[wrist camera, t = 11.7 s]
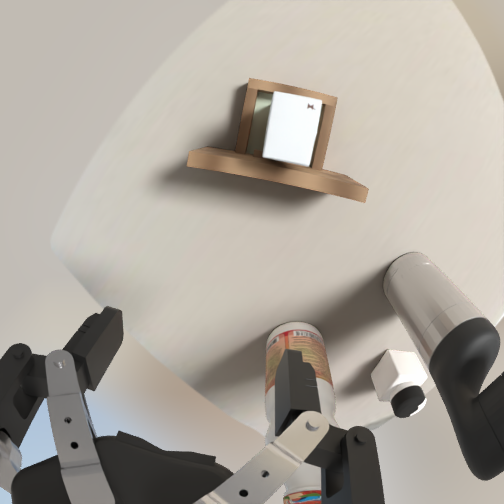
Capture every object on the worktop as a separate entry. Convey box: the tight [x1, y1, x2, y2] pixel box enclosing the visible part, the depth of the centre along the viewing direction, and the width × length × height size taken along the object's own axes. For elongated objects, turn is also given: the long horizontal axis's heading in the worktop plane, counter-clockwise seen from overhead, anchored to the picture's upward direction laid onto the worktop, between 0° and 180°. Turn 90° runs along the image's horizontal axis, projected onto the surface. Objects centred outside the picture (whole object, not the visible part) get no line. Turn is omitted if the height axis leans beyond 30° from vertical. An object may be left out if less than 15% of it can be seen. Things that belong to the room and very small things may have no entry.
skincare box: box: [262, 91, 322, 167], centre depth 27 cm, size 6×4×12 cm
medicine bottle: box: [371, 349, 427, 418], centre depth 42 cm, size 7×7×12 cm
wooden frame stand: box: [187, 78, 369, 203], centre depth 29 cm, size 18×11×9 cm, turn 79°
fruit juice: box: [265, 322, 339, 504], centre depth 33 cm, size 9×9×28 cm
